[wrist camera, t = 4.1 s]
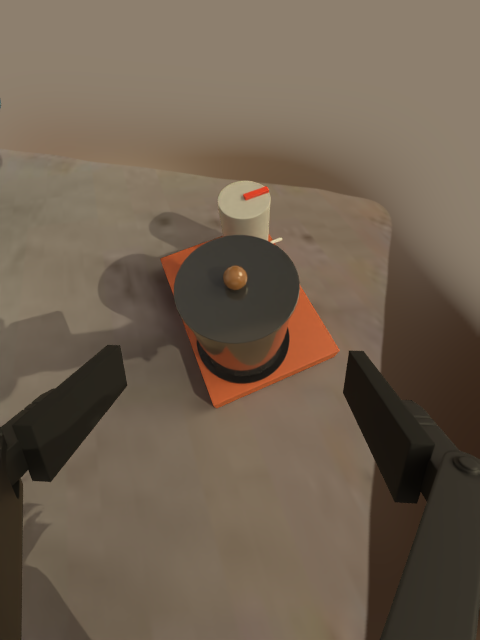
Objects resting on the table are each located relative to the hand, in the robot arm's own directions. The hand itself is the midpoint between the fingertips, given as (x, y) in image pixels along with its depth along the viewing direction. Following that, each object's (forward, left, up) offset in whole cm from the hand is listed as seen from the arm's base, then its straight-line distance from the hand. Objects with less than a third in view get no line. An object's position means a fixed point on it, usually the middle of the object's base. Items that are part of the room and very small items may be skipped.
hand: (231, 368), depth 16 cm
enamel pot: (-5, +2, -10) cm, 11 cm away
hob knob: (-15, +7, -10) cm, 19 cm away
